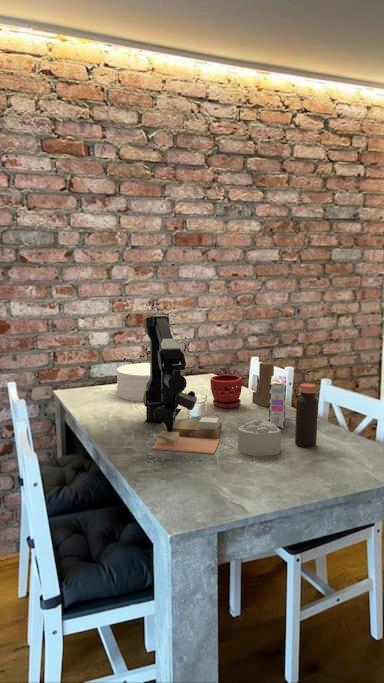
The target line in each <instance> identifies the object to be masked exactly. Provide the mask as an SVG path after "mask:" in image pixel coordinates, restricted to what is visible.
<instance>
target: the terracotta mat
mask: <svg viewBox="0 0 384 683" xmlns="http://www.w3.org/2000/svg"><path fill="white" fill-rule="evenodd" d="M220 442H221V439H219V438H218V439H210V438H197V437H184V436H179V441H178V442H177V443H176V445H170V444H160V443H157V441H156V442H155V443H154V444H153V445H152V447H151V450H157V451H172V452H182V453H195V454H209V455H215V453H216V452H217V449H218V447H219V444H220Z"/></svg>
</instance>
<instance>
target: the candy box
mask: <svg viewBox="0 0 384 683" xmlns="http://www.w3.org/2000/svg"><path fill="white" fill-rule="evenodd" d="M286 397H287V376H281V375H274V376H272V378H271V383H270V400H269V406H268V407H269V408H268V422H271V423H272V424H274V425H276V427H277V428H279V429H285V424H286Z"/></svg>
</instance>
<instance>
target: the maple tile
mask: <svg viewBox="0 0 384 683" xmlns="http://www.w3.org/2000/svg"><path fill="white" fill-rule="evenodd" d="M178 441H179V433H178V432H167V431H165V430H161V431H160V432H159V433H158V434H157V440H156V442H157V443H160V444H170V445H176V443H177V442H178Z"/></svg>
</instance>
